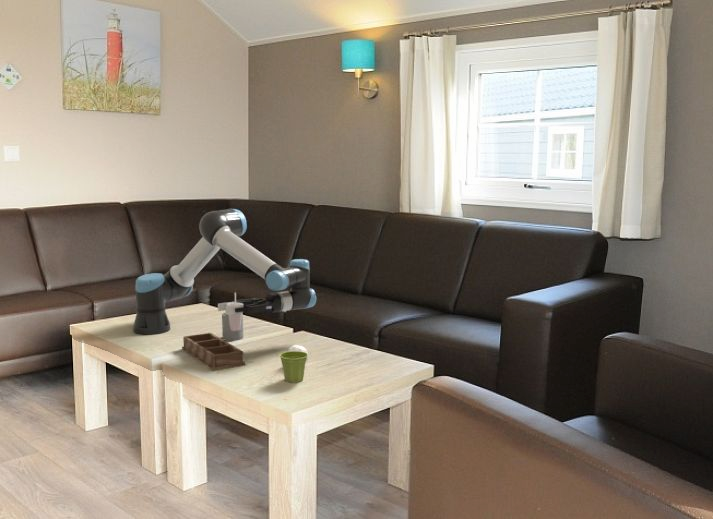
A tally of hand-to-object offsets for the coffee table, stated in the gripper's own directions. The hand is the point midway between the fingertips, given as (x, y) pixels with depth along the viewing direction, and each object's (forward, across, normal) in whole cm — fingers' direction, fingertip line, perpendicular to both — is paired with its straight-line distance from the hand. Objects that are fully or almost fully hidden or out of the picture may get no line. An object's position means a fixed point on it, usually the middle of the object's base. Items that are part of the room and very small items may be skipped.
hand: (222, 309), depth 269 cm
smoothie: (-5, 0, -9) cm, 10 cm away
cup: (-13, +21, -18) cm, 31 cm away
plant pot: (-8, -40, -18) cm, 44 cm away
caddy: (+4, 0, -18) cm, 18 cm away
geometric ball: (-16, -27, -18) cm, 36 cm away
